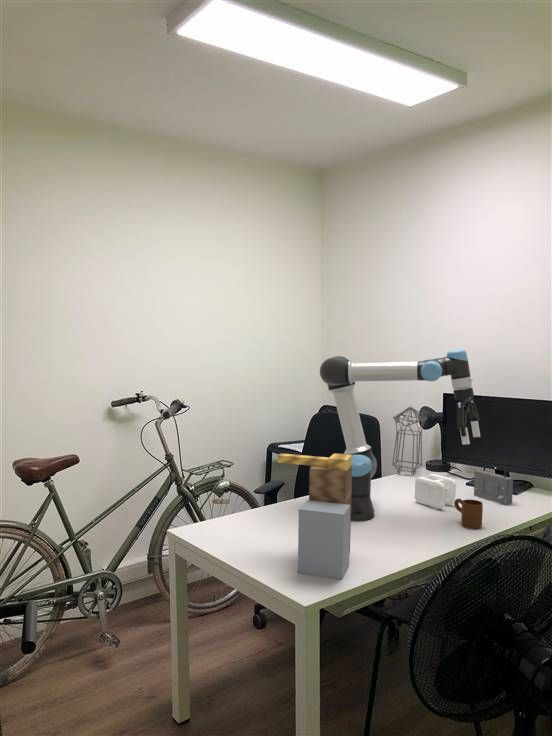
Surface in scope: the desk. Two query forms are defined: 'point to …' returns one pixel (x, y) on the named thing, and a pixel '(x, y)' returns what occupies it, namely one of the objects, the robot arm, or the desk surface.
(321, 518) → the grey stand
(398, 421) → the geometric lantern
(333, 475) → the walnut post
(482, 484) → the electronic device
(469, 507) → the mug
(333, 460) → the handle bar
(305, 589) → the desk surface
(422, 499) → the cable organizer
